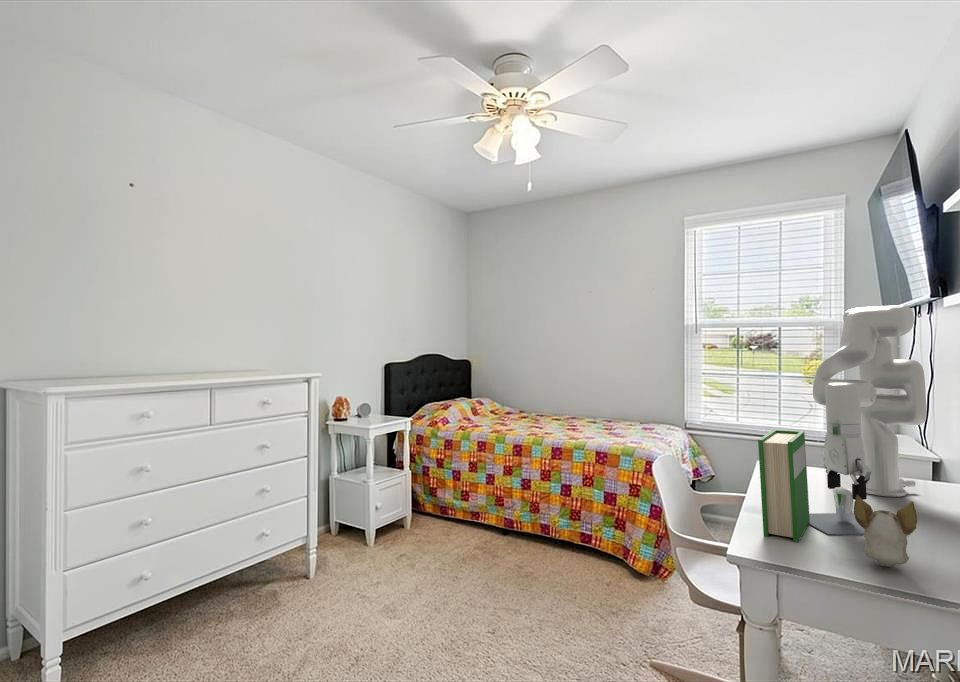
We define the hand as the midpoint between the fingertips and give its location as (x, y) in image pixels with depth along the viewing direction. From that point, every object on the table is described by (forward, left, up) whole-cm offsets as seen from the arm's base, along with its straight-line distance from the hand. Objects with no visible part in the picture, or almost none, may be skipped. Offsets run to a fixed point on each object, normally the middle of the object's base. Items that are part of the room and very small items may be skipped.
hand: (846, 493), depth 137 cm
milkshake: (0, 0, -8) cm, 8 cm away
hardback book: (+18, +4, -8) cm, 20 cm away
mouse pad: (0, 0, -8) cm, 8 cm away
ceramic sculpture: (+10, +27, -8) cm, 30 cm away
